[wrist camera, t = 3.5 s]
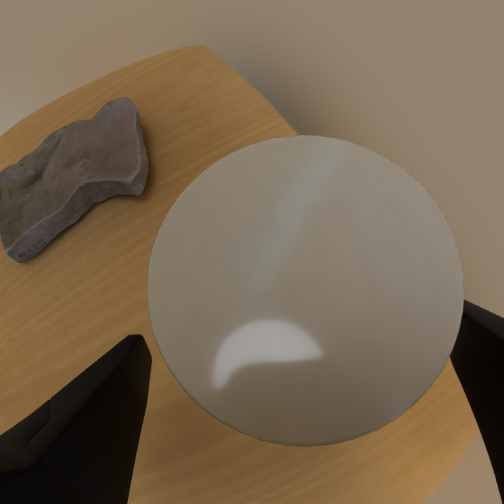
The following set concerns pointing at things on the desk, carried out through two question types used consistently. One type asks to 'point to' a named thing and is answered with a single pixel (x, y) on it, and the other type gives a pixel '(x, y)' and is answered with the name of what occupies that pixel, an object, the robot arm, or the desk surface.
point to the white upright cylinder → (305, 290)
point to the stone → (71, 177)
